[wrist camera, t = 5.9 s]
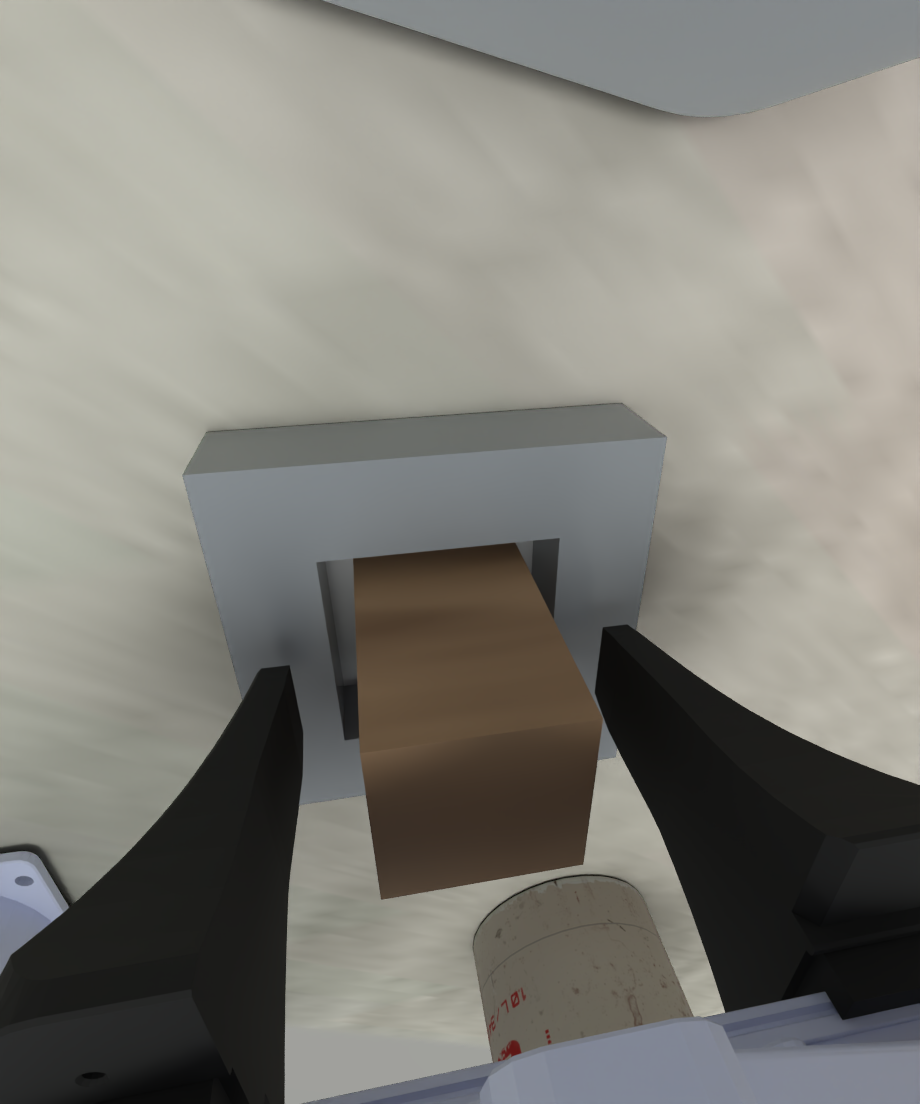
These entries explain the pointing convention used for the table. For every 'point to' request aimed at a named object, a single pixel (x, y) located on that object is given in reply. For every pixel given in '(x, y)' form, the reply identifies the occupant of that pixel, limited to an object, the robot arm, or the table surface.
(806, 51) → the plastic bottle
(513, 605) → the wooden rectangular block
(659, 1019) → the thermos bottle
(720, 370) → the table surface
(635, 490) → the grey flat square frame
